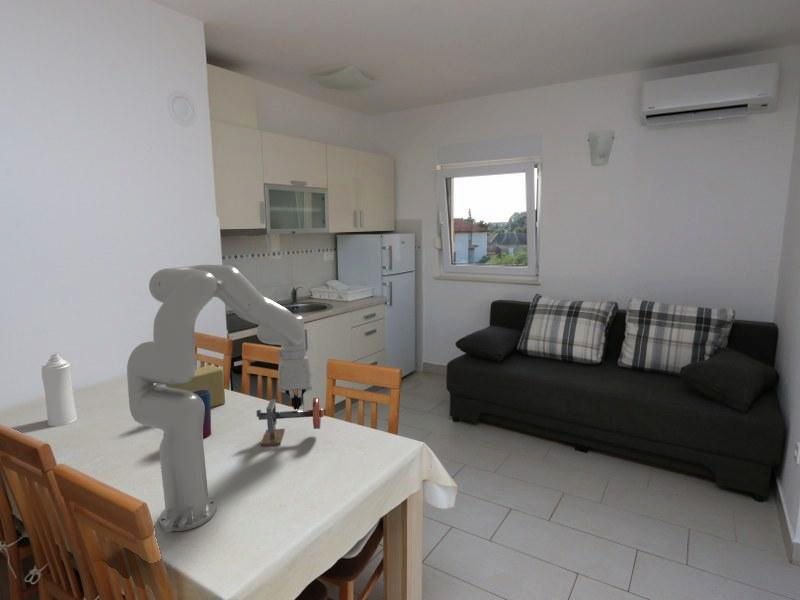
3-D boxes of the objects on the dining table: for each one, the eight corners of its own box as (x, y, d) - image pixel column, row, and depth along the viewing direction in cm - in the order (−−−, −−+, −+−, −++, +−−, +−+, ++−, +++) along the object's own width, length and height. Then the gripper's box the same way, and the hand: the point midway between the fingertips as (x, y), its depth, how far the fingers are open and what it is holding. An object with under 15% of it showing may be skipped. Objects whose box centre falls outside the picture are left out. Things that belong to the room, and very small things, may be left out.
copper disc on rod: (323, 433, 149) (321, 404, 147) (255, 437, 147) (253, 407, 145) (324, 420, 159) (323, 392, 157) (261, 424, 157) (259, 396, 155)
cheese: (172, 424, 166) (167, 383, 163) (158, 417, 171) (153, 378, 169) (226, 404, 183) (223, 367, 181) (212, 398, 189) (209, 363, 187)
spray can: (36, 423, 168) (26, 356, 164) (65, 412, 178) (56, 348, 174) (59, 427, 164) (49, 359, 160) (88, 415, 174) (79, 350, 170)
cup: (206, 440, 152) (202, 397, 150) (187, 439, 154) (183, 395, 151) (218, 431, 159) (214, 389, 156) (200, 430, 160) (196, 388, 158)
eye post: (280, 445, 148) (278, 409, 146) (261, 446, 148) (258, 410, 146) (284, 431, 158) (282, 397, 156) (266, 432, 157) (264, 398, 155)
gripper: (267, 358, 144) (271, 414, 147) (316, 355, 146) (319, 411, 149) (271, 351, 152) (275, 405, 155) (318, 349, 153) (320, 402, 156)
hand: (296, 407), depth 152 cm, fingers closed
